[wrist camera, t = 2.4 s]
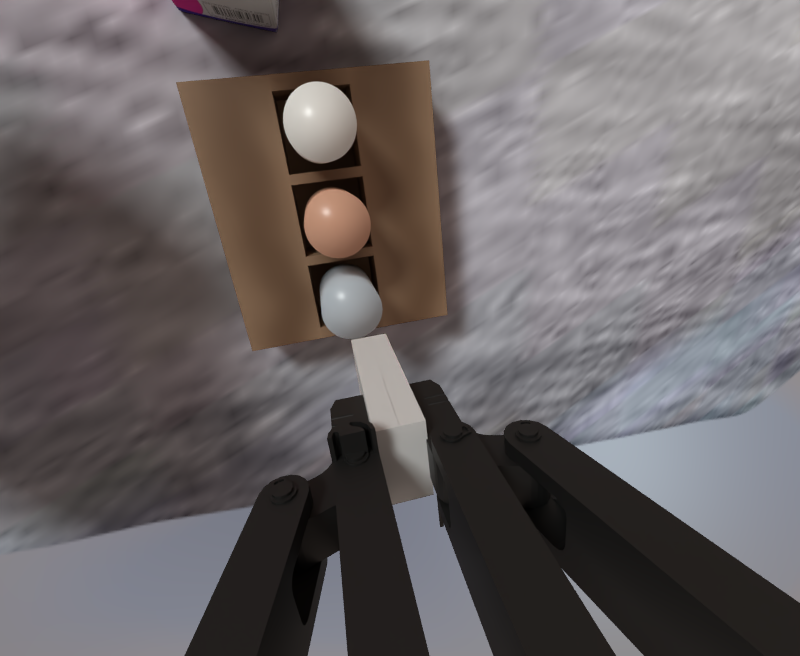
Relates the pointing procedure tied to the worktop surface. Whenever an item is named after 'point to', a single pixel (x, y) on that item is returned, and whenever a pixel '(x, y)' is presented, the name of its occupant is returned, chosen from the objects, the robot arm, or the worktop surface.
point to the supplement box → (235, 11)
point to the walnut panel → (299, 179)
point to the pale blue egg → (349, 302)
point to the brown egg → (336, 222)
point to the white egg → (319, 122)
